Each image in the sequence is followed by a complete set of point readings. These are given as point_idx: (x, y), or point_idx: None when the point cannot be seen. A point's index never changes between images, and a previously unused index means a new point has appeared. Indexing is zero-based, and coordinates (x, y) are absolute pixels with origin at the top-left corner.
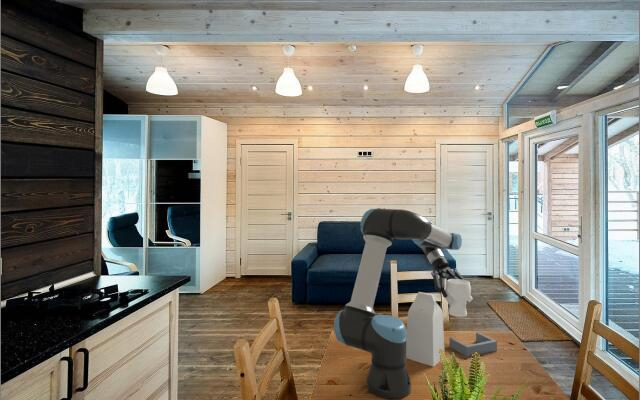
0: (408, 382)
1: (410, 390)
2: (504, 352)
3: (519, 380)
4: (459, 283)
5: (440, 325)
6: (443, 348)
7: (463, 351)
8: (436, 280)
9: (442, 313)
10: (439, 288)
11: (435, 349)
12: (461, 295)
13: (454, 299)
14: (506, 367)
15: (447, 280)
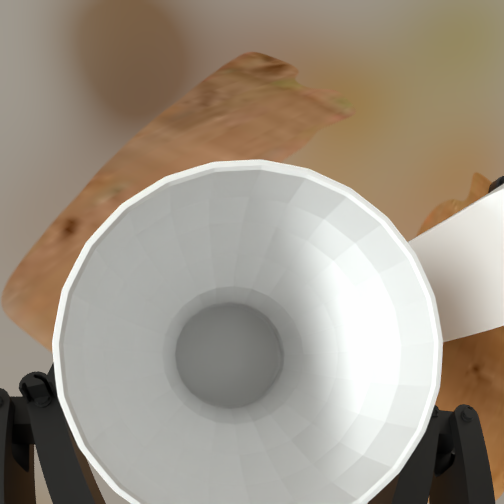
0: (500, 185)
1: (491, 184)
2: None
3: (276, 94)
4: (115, 451)
5: (460, 211)
6: None
7: None
8: (489, 493)
9: (477, 201)
10: (461, 407)
11: (444, 220)
12: (307, 240)
13: (324, 314)
14: (248, 133)
15: (399, 471)
